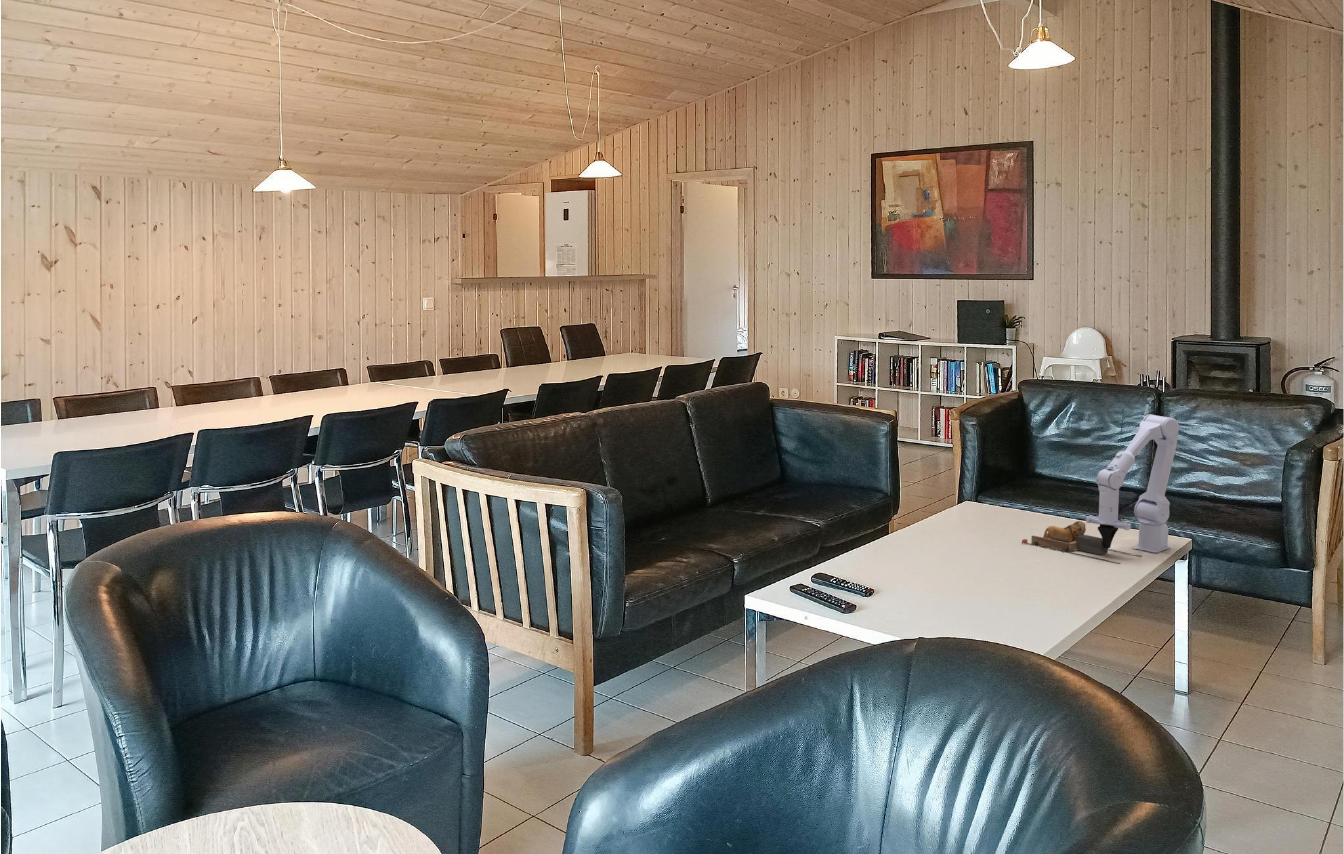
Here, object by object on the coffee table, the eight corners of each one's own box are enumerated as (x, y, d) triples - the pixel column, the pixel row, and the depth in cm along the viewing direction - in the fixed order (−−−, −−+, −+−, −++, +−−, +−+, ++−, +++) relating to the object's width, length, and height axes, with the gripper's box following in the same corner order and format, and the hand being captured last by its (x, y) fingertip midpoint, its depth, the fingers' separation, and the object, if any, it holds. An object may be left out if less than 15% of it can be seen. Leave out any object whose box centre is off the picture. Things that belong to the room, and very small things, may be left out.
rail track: (1046, 536, 367) (1046, 532, 367) (1142, 556, 339) (1142, 552, 339) (1021, 543, 359) (1022, 539, 359) (1118, 564, 331) (1118, 560, 331)
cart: (1053, 537, 364) (1053, 524, 364) (1115, 550, 346) (1116, 536, 346) (1030, 543, 357) (1030, 531, 356) (1092, 557, 338) (1093, 543, 338)
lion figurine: (1084, 545, 354) (1085, 519, 352) (1085, 549, 349) (1086, 523, 347) (1038, 543, 358) (1039, 517, 357) (1038, 546, 353) (1038, 520, 352)
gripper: (1081, 504, 343) (1079, 545, 345) (1123, 512, 331) (1121, 554, 333) (1093, 501, 347) (1092, 542, 349) (1135, 508, 335) (1133, 550, 337)
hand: (1107, 547), depth 341 cm, fingers closed
